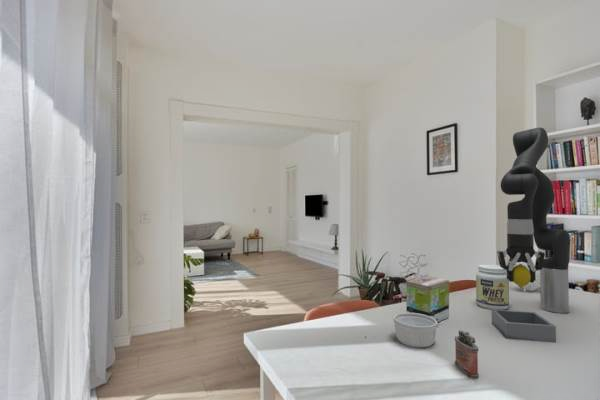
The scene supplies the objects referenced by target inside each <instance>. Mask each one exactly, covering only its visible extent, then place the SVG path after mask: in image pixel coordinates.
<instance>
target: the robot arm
mask: <svg viewBox="0 0 600 400" xmlns="http://www.w3.org/2000/svg"><path fill="white" fill-rule="evenodd" d="M512 144H513V148H514V151H515V154H516V158H515V160H514V162H513V164H512V167H511V168H510V169H509V171H507V172H506V173H505V174H504V176H503V177H502V178H501V180H500V190H501V192H502V193H503V194H505V195H509V196H510V195H511V196H513V195H515V196H517V195H522V196H523V195H524V197H523V198H521V199H520V200H516V201H511V202H508V204H507V207H506V208H507V209H506V210H507V222H506V238H507V239H506V242H507V243H506V247H507V248H506V250H497V251H496V254H497V259H498V263H499V264H498V265H499V266H500V267H501V268H503V269H506V271H507V272H506V274H507V279H508V280H509V283H510V282H511V283H514V282H513V271H512V269H513V267H514V265H516V262H518V263H519V262H525V263H526V264H527V266H528V268H529V270H530V274H531V280H530V282H531V283H534V281H535V280H536V278H537V277H535V272H536V271H537V270H540V274H539V275H540V285H539V287H540V289H539V290H540V293H539V294H540V295H539V296H540V308H541V310H544V311H546V312H552V313H559V314H567V313H569V312H570V305H569V304H570V294H569V293H570V292H569V291H570V288H569V285H570V284H569V264H570V257H571V236H570V233H569V232H568V231H567V230H566V229H562V228H549V227H548V224H547V222H548V221H547V217H548V214H549V211H551V208H552V207H553V204H554V202H555V198H556V195H555V191H554V185H553V182H552V180H551V179H550V178H549V177H548V176H547V175H546V174H545V173H544V172H543V171H541V170H540V169H539V168H538V167H537V165H538V163H539V161H540V159H541V157H542V156H543V154H544V153H545V151H546V149H547V147H548V146H549V136H548V133H547V131H546V129H545V128H543V127H534V128H530V129H526V130H522V131H518V132H515V133H514V134H513V136H512ZM534 244H535V245H536V248H538V249H540V250H543V251H548V252H553V253H552V255H551V257H548V258H545V257H546V256H545V254H546V253H545V252H543V251H538V250H537V251H535V247H534ZM507 255H508V257H509V258H508V261H507V263H506V259H505V258H506V257H507ZM533 256H535V257H536V260H535V261H536V262H535V266H534V263H533V261H532V259H531V258H532V257H533ZM530 282H529V283H530Z"/></svg>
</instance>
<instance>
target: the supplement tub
mask: <svg viewBox="0 0 600 400" xmlns="http://www.w3.org/2000/svg"><path fill="white" fill-rule="evenodd" d="M477 267H478V268H477V272H476V275H475V278H476V279H475V290H476V291H475V294H476V295H475V297H476V298H475V299H476V300H475V302H476V304H477V305H478V306H479V307H482V308H484V309H490V310H492V309H493V310H508V308H509V307H510V281H509V280H508V279H507V271H506V269H503V268H501V267H500V264H498V265H497V264H478V266H477Z"/></svg>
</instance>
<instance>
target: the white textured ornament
mask: <svg viewBox="0 0 600 400" xmlns="http://www.w3.org/2000/svg"><path fill="white" fill-rule="evenodd" d="M531 259H532V261H533V263H534V266H535V262H536V257H535V255H533V257H532V258H531ZM519 264H522V265H523V266H525V267H527V268H528V266H527V264H526V263H525V262H516V265H514V267H515V266H517V265H519ZM514 267H513V268H514ZM528 269H529V268H528ZM529 271H530V270H529ZM535 277H536V280H535V281H534V283H531V282H529V284H527V285H525V286H523V287H522V288H523V293H526V292H528V291H529V292H532V291H537V288H539V287H540V270H537V271H536V272H535Z"/></svg>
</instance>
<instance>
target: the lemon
mask: <svg viewBox="0 0 600 400" xmlns="http://www.w3.org/2000/svg"><path fill="white" fill-rule="evenodd" d="M512 271H513V282H512V283H514V284H515V285H517V286H518V287H520V288H524V287H523V286H525V285H527V284H530V280H531V274H530V271H529V269H528V268H527V267H526V266H523V265H522V264H519V265H517V266H515V267H514V268H513V269H512Z"/></svg>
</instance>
